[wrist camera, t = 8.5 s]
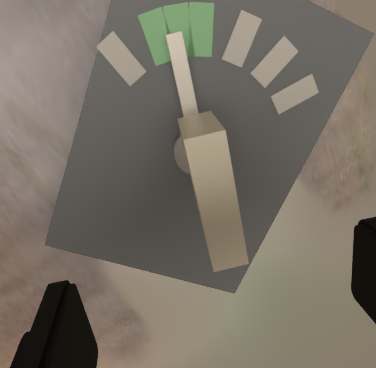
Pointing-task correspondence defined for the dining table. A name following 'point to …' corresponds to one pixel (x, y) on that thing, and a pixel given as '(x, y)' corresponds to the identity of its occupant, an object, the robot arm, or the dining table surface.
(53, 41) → the dining table surface
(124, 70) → the tuner board
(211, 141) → the beige block on stand
